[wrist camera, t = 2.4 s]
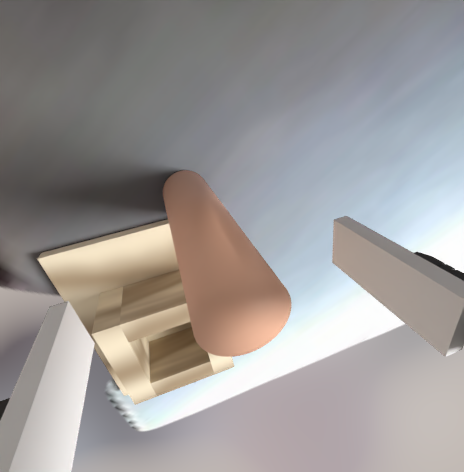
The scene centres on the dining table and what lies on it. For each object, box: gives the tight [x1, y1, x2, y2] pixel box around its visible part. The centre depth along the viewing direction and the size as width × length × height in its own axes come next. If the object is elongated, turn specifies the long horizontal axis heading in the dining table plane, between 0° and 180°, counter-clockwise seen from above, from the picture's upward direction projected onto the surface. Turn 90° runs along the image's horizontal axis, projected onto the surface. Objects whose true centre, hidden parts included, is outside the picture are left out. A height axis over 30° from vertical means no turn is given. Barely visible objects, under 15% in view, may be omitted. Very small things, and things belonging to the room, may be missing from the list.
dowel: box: [163, 170, 291, 357], centre depth 17 cm, size 4×4×16 cm
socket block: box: [38, 219, 234, 405], centre depth 26 cm, size 20×16×6 cm
